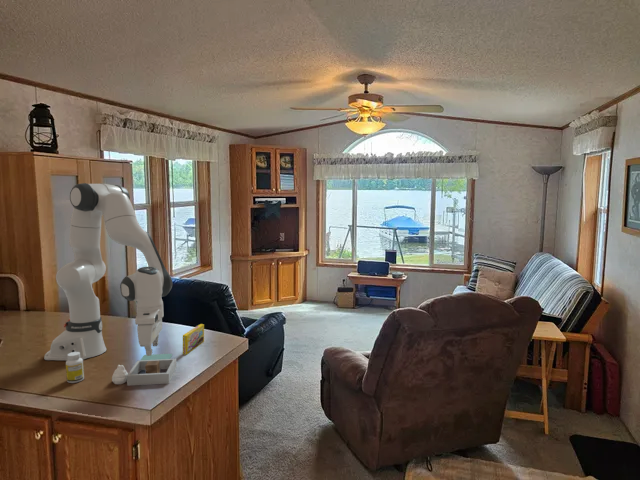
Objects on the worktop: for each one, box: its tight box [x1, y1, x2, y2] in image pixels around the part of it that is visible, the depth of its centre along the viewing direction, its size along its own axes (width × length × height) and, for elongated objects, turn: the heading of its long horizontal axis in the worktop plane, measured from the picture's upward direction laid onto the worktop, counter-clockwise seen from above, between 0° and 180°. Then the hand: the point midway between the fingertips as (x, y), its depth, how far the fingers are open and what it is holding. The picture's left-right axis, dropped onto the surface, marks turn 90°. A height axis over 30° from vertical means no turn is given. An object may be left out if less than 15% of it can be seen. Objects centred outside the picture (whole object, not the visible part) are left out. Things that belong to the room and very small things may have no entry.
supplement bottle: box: [65, 352, 85, 384], centre depth 161 cm, size 5×5×10 cm
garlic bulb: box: [111, 364, 129, 385], centre depth 161 cm, size 6×6×5 cm
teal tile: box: [140, 353, 173, 360], centre depth 179 cm, size 11×11×1 cm
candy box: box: [182, 323, 205, 356], centre depth 194 cm, size 16×2×8 cm, turn 168°
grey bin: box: [126, 358, 177, 387], centre depth 165 cm, size 14×14×4 cm
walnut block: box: [144, 361, 161, 374], centre depth 165 cm, size 4×4×5 cm
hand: (152, 350), depth 164 cm, fingers open, 8 cm apart
